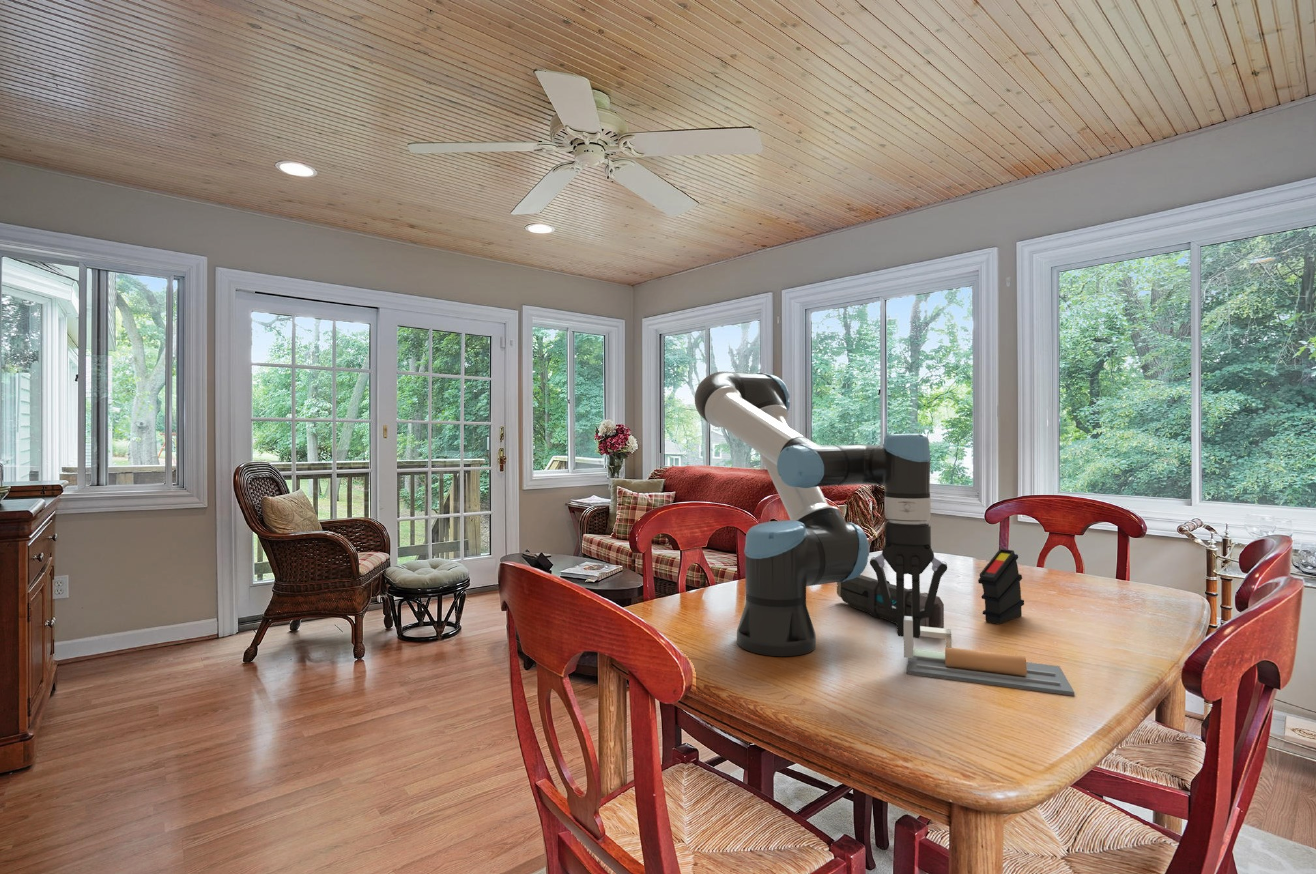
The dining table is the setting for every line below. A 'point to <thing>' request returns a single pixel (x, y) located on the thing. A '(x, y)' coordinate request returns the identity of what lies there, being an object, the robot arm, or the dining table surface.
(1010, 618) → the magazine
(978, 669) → the tan cylindrical rod
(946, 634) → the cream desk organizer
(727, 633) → the dining table surface
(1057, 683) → the guide mat
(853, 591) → the tube
